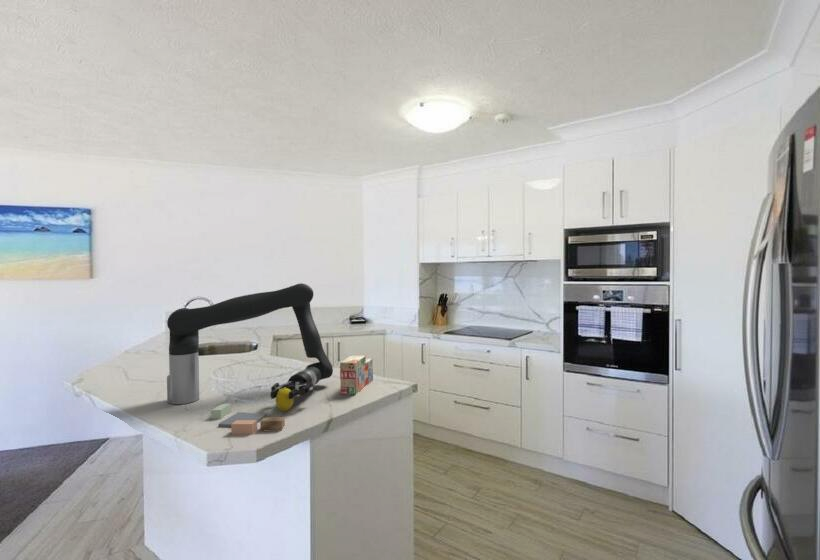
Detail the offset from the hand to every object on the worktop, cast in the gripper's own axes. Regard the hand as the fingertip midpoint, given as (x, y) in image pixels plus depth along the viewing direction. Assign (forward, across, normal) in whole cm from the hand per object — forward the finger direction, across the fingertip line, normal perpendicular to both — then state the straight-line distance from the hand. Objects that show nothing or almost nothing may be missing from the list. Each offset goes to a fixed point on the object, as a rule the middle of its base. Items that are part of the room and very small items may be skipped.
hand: (281, 395), depth 125 cm
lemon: (-3, 0, +6) cm, 7 cm away
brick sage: (+2, -19, +6) cm, 20 cm away
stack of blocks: (-33, +16, +6) cm, 37 cm away
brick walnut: (+11, +3, +6) cm, 13 cm away
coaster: (+6, -9, +6) cm, 13 cm away
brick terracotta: (+14, -4, +6) cm, 16 cm away
